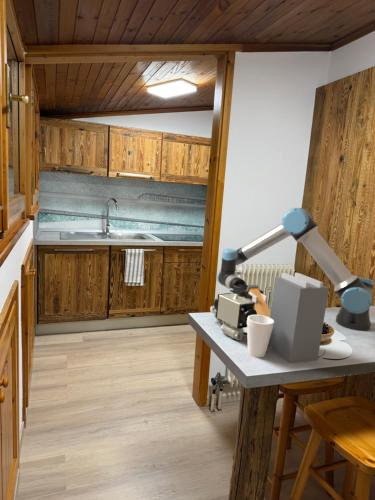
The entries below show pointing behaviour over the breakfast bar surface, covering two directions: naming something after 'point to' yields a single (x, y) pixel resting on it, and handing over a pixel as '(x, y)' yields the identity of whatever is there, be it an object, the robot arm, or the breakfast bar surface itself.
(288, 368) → the breakfast bar surface
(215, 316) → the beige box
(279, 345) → the charcoal stand
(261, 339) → the foam cup
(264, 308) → the orange bar
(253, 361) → the breakfast bar surface
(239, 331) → the ball valve
